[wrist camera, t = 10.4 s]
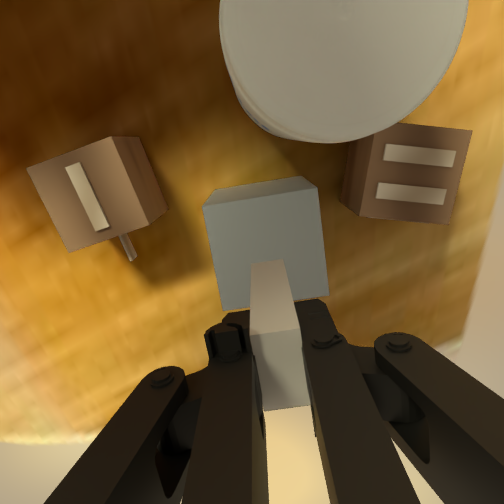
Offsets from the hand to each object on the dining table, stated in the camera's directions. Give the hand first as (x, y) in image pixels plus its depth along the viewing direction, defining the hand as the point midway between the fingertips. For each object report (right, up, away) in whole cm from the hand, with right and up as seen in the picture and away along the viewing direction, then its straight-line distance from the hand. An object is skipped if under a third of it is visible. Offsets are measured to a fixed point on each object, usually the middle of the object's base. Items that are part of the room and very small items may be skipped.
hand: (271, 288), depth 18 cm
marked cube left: (-11, +6, +13) cm, 18 cm away
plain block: (0, +4, +14) cm, 14 cm away
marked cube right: (+9, +8, +12) cm, 18 cm away
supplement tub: (+2, +15, +10) cm, 18 cm away
